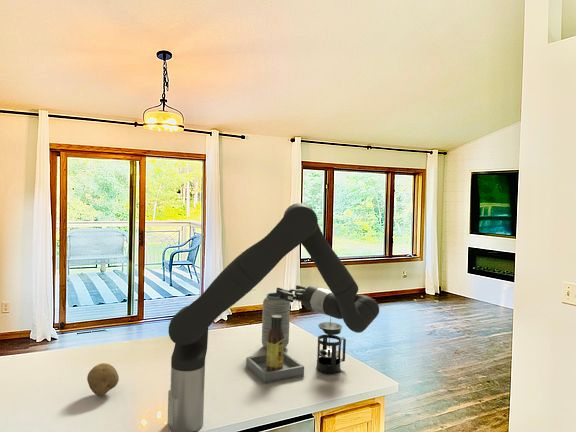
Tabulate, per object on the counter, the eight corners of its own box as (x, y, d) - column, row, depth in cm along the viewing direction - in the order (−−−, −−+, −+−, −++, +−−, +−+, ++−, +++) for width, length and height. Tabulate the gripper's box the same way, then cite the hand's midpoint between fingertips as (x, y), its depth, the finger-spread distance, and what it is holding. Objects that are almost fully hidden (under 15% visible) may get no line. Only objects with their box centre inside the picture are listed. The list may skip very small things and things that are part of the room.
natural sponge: (109, 385, 139) (110, 356, 138) (123, 394, 133) (124, 363, 132) (82, 395, 132) (82, 364, 131) (95, 404, 126) (96, 372, 125)
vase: (257, 350, 175) (259, 296, 174) (266, 341, 186) (268, 290, 185) (283, 354, 172) (285, 299, 170) (291, 345, 183) (293, 293, 182)
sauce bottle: (280, 373, 151) (283, 319, 150) (264, 371, 152) (266, 318, 151) (284, 366, 157) (286, 314, 157) (268, 364, 159) (270, 313, 158)
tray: (264, 383, 144) (264, 374, 144) (246, 366, 158) (246, 357, 158) (303, 375, 152) (304, 366, 152) (283, 359, 166) (283, 351, 166)
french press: (319, 375, 152) (322, 313, 151) (310, 365, 161) (313, 307, 160) (348, 373, 156) (351, 312, 155) (338, 363, 165) (341, 305, 164)
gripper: (337, 286, 133) (303, 276, 146) (304, 290, 124) (271, 280, 137) (335, 309, 134) (302, 297, 146) (302, 315, 125) (269, 302, 137)
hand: (287, 289), depth 141 cm, fingers open, 8 cm apart
